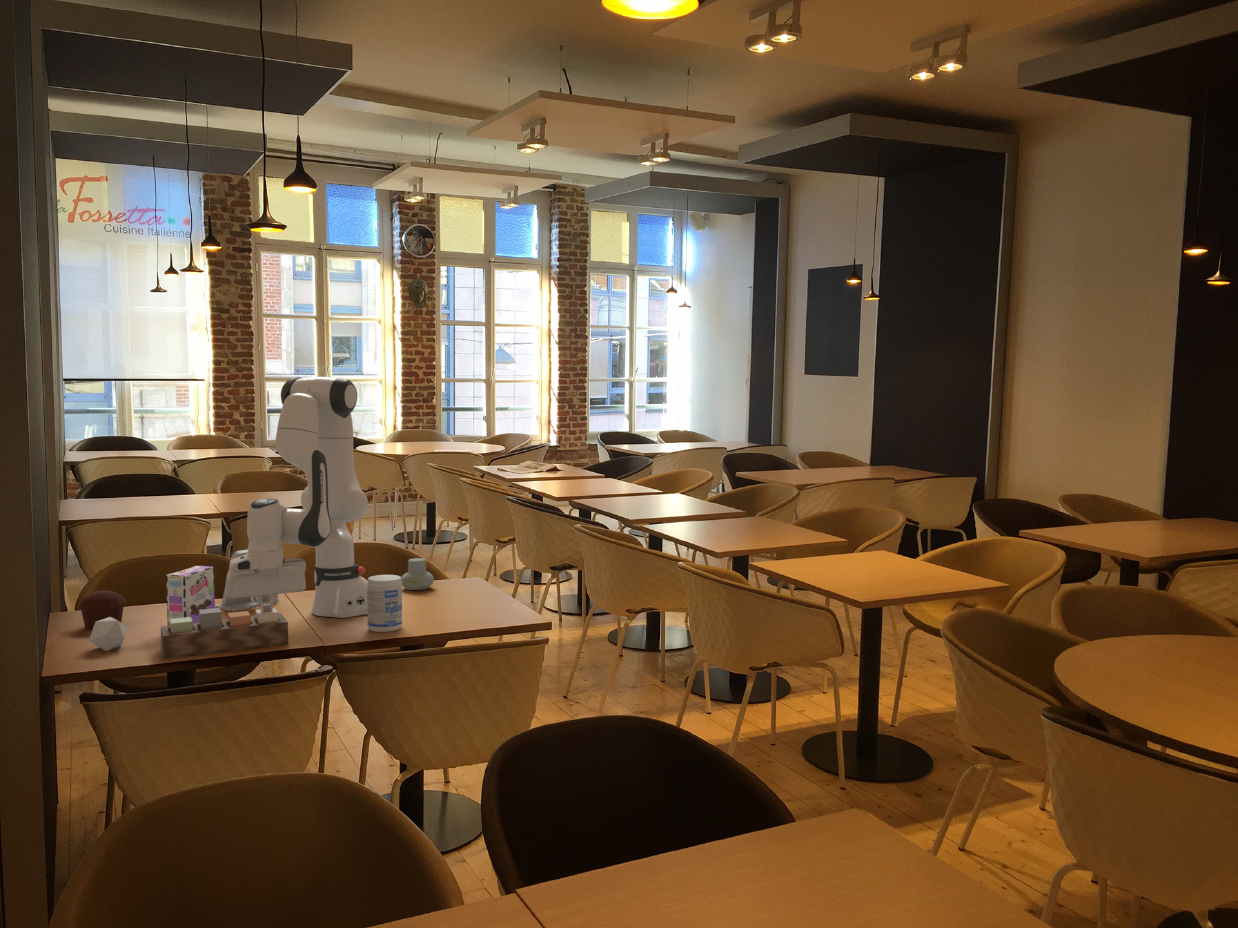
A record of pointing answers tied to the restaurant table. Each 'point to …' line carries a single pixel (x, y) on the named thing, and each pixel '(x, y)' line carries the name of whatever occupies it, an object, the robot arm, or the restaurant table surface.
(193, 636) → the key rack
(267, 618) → the ivory key
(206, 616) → the slate key
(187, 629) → the sage key
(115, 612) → the muffin
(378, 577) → the supplement tub
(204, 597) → the candy box
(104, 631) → the die
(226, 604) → the phone holder
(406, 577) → the air freshener
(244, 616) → the terracotta key
